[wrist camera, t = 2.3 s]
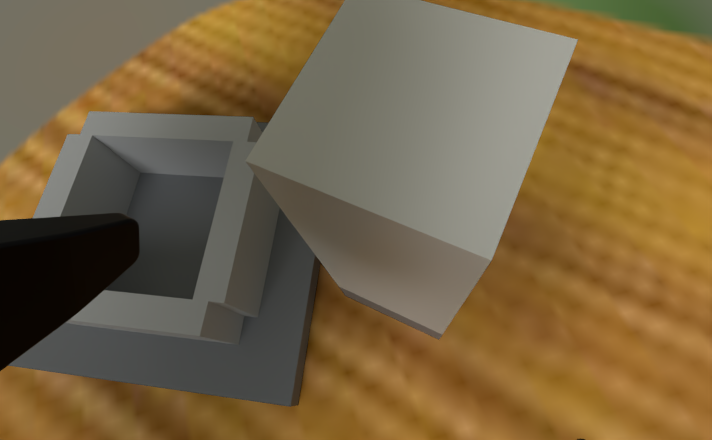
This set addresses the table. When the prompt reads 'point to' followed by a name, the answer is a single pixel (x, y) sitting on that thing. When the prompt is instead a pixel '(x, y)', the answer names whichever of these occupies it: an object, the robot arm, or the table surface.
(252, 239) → the socket
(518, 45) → the plug
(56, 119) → the table surface
